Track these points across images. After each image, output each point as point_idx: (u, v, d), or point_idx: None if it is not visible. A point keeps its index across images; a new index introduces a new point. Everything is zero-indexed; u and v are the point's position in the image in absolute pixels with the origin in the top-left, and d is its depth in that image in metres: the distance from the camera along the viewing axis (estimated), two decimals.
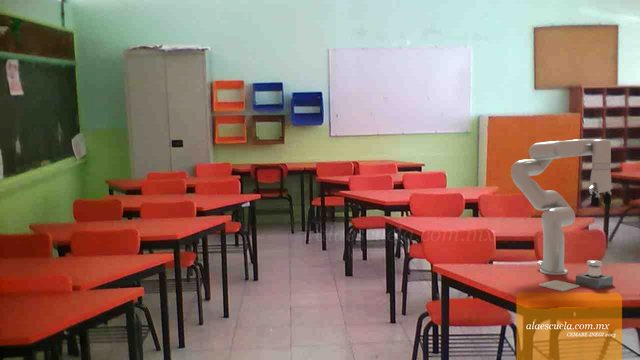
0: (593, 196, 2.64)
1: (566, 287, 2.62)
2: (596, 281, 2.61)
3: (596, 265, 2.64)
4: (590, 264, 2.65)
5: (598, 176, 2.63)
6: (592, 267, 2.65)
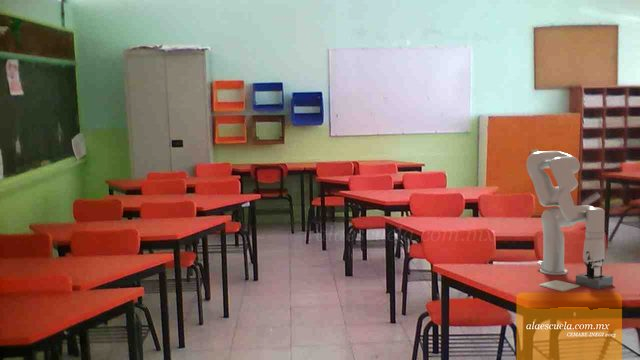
0: (589, 267, 2.64)
1: (566, 287, 2.62)
2: (596, 281, 2.61)
3: (596, 265, 2.64)
4: None
5: (591, 245, 2.62)
6: None
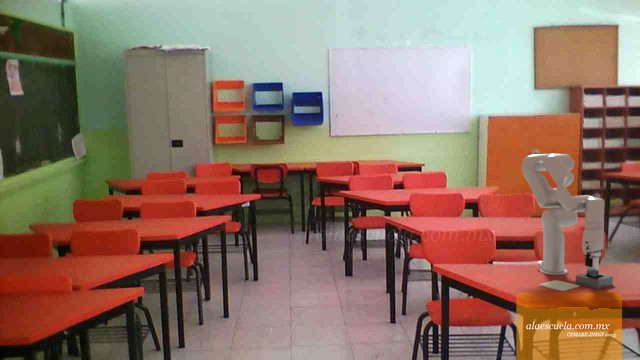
0: (587, 257, 2.64)
1: (566, 287, 2.62)
2: (596, 281, 2.61)
3: (595, 255, 2.64)
4: None
5: (590, 235, 2.62)
6: None
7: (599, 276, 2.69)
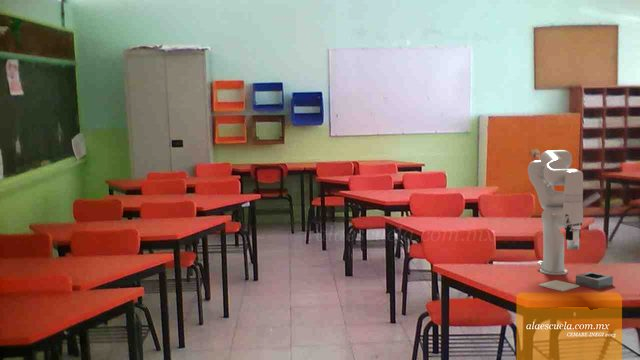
0: (567, 230, 2.62)
1: (566, 287, 2.62)
2: (596, 281, 2.61)
3: (575, 228, 2.62)
4: None
5: (570, 208, 2.60)
6: None
7: (599, 276, 2.69)
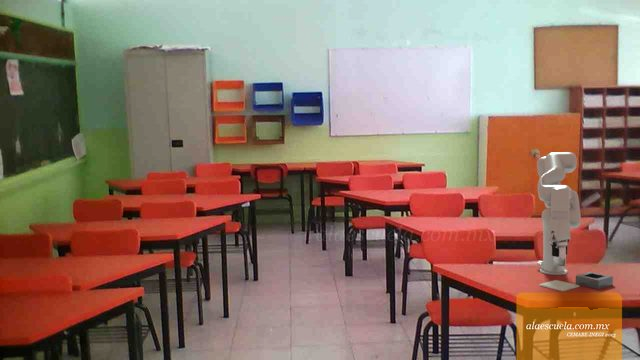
0: (553, 246, 2.62)
1: (566, 287, 2.62)
2: (596, 281, 2.61)
3: (561, 245, 2.62)
4: None
5: (556, 225, 2.60)
6: None
7: (599, 276, 2.69)
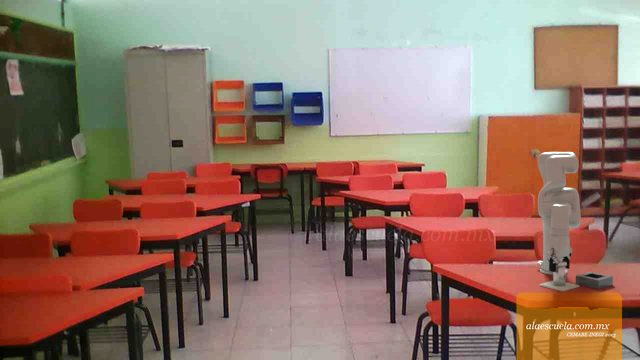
0: (551, 262, 2.62)
1: (566, 287, 2.62)
2: (596, 281, 2.61)
3: (561, 265, 2.63)
4: None
5: (556, 242, 2.61)
6: (557, 267, 2.64)
7: (599, 276, 2.69)
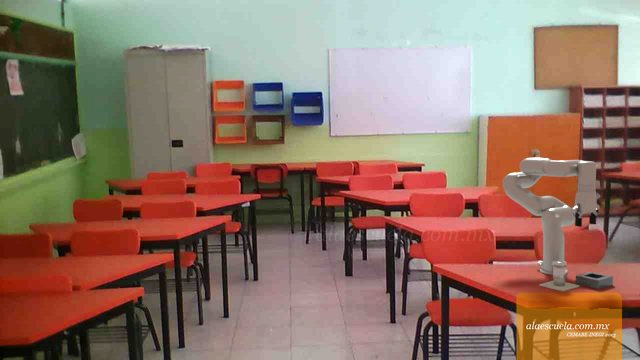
0: (576, 217, 2.71)
1: (566, 287, 2.62)
2: (596, 281, 2.61)
3: (561, 265, 2.63)
4: (555, 264, 2.64)
5: (582, 197, 2.69)
6: (557, 267, 2.64)
7: (599, 276, 2.69)
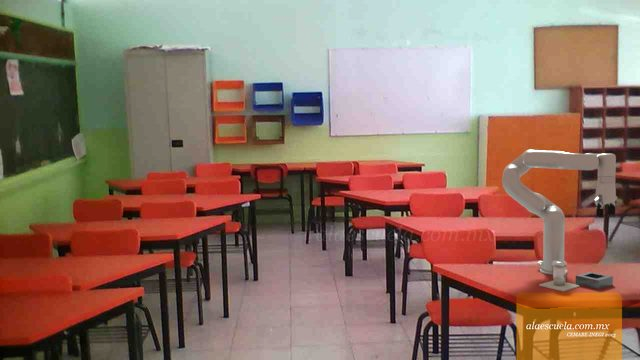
0: (598, 207, 2.78)
1: (566, 287, 2.62)
2: (596, 281, 2.61)
3: (561, 265, 2.63)
4: (555, 264, 2.64)
5: (603, 188, 2.77)
6: (557, 267, 2.64)
7: (599, 276, 2.69)
